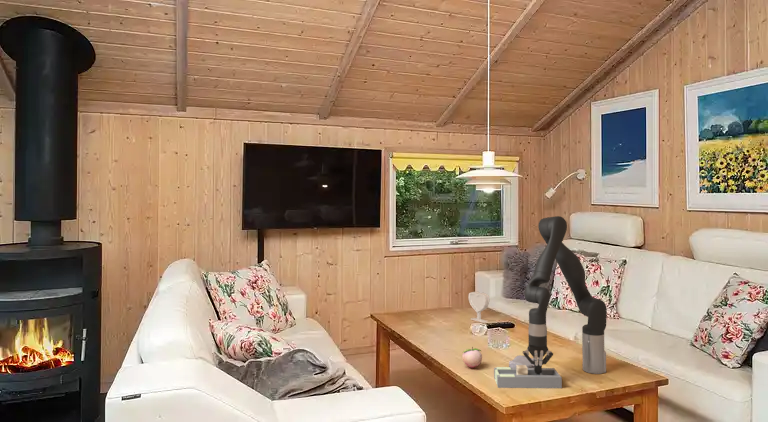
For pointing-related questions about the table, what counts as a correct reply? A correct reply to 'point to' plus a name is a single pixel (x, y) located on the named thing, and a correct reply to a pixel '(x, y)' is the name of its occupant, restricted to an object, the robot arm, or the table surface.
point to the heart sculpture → (478, 304)
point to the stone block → (520, 362)
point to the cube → (521, 370)
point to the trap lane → (527, 378)
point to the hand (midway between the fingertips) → (537, 373)
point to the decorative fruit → (472, 357)
